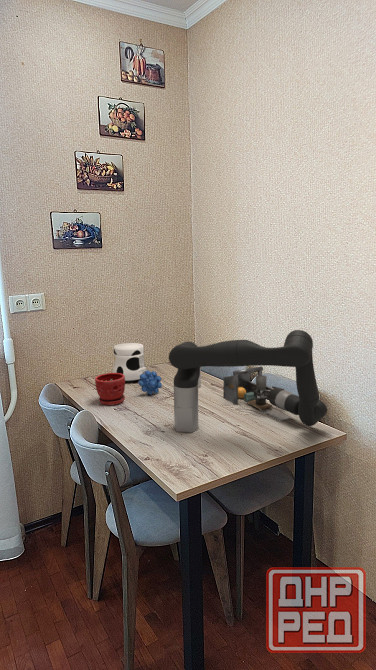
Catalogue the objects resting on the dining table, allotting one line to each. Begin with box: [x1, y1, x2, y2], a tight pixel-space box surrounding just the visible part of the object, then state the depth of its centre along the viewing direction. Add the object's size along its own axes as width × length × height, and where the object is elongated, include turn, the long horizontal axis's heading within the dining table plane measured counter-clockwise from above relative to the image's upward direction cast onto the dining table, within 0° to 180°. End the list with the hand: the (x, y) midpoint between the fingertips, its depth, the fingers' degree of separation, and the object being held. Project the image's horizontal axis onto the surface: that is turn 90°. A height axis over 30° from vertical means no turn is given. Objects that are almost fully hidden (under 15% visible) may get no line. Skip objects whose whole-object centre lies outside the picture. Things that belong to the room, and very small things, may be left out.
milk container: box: [112, 342, 147, 383], centre depth 236 cm, size 17×17×18 cm
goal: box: [222, 366, 264, 405], centre depth 204 cm, size 10×15×15 cm, turn 119°
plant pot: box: [94, 372, 126, 406], centre depth 202 cm, size 13×13×12 cm
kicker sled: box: [243, 374, 273, 410], centre depth 194 cm, size 12×6×13 cm, turn 29°
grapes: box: [137, 369, 163, 396], centre depth 211 cm, size 12×7×12 cm, turn 116°
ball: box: [238, 387, 246, 399], centre depth 206 cm, size 5×5×5 cm
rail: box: [259, 407, 292, 422], centre depth 186 cm, size 14×5×1 cm, turn 29°
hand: (257, 388), depth 195 cm, fingers closed on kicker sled, 4 cm apart
